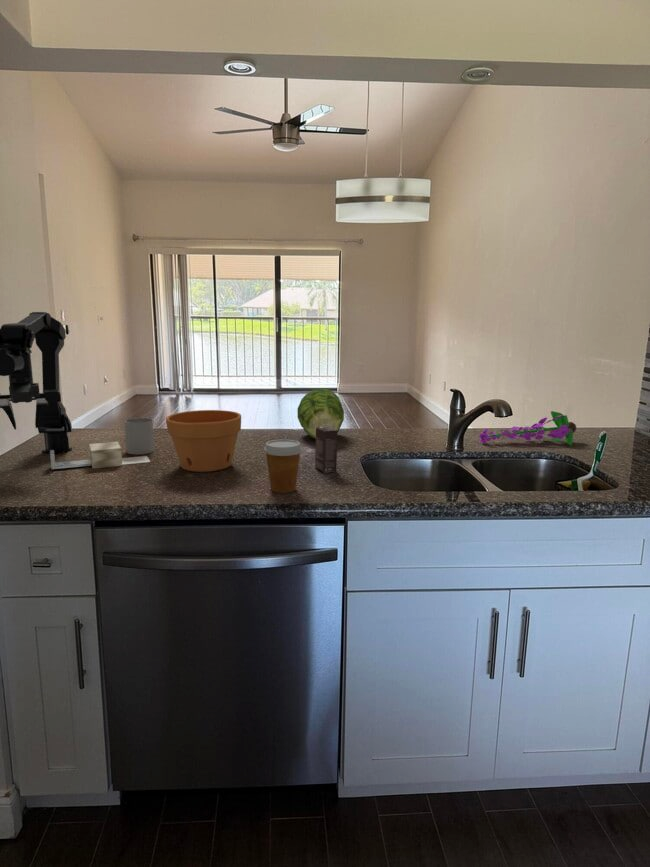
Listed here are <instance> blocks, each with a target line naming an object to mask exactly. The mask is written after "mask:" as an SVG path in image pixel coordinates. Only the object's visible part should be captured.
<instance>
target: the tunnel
mask: <svg viewBox="0 0 650 867" xmlns="http://www.w3.org/2000/svg"><path fill="white" fill-rule="evenodd" d="M88 447H89V460H90V459H92V466H91V468H92V469H101V468H102V469H103V468H112V467H121V466H122V467H123V465H122V458H123V457H122V456H123V455H122V447H121V445H120V443H119V442H118V441H111V442H109V441H108V442H99V443H98V442H96V443H89V444H88Z"/></svg>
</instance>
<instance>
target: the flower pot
mask: <svg viewBox="0 0 650 867" xmlns="http://www.w3.org/2000/svg"><path fill="white" fill-rule="evenodd" d="M165 423H166V427H167V428H166V429H167V433H168V434H169V435H170V437H171V439H172V442H173V446H174V449H175V453H176V456H177V458H178V461H179V464H180V467H181V468H182V469H183V470H185V471H188V472H189V471H190V472H200V473H201V472H202V473H206V472H215V471H220V470H224V469H227V468H229V467H230V466H232V463H233V458H234V453H235V450H236V448H235V447H236V443H237V439H238V433H240V431H241V430H242V414H241V413H239V412H237V411H232V410H231V411H230V410H225V409H224V410H222V409H202V410H200V409H199V410H189V411H181V412H177V413H173V414H169V415H167V416H166V418H165Z"/></svg>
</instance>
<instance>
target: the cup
mask: <svg viewBox="0 0 650 867" xmlns="http://www.w3.org/2000/svg"><path fill="white" fill-rule="evenodd" d="M153 423H154V420H153V418H150V417H133V418H132V417H131V418H128V419H125V421H124V429H125V431H124V432H125V448H126V454H129V455H146V454H151V453H153V452H155V441H154V424H153Z"/></svg>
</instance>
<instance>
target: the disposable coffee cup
mask: <svg viewBox="0 0 650 867" xmlns="http://www.w3.org/2000/svg"><path fill="white" fill-rule="evenodd" d="M263 450H264V452H265V454H266V455H265V456H266V462H267V470H268V478H269V483H270V485H269V486H270V490H271V491H272V492H275V493H280V494H282V493H285V494H286V493H292V492H294V491H296V488H297V480H298V472H299V464H300V455H301V453H302V450H303V447H302V445H301V442H300V441H297V440H294V439H274V440H269V441H266V443H265V446H264V448H263Z"/></svg>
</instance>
